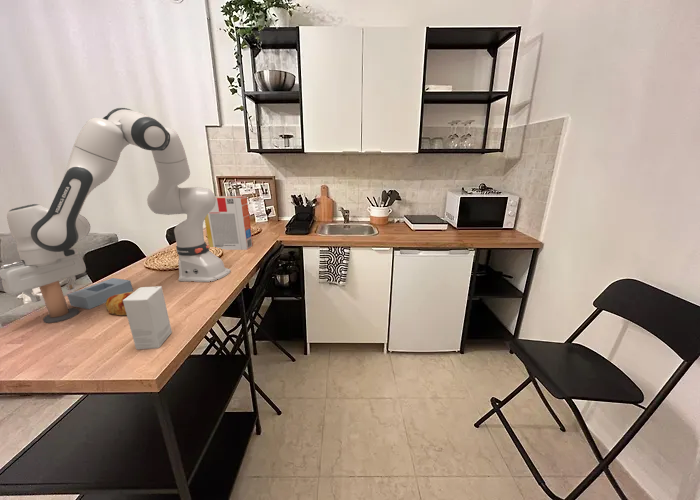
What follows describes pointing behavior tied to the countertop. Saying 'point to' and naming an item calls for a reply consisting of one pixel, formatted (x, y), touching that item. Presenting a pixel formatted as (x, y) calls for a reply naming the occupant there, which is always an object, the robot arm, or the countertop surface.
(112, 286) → the pocket block
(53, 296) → the orange-brown cylinder
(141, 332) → the skincare box
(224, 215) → the pasta box
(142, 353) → the countertop surface
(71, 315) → the mat
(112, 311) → the croissant
